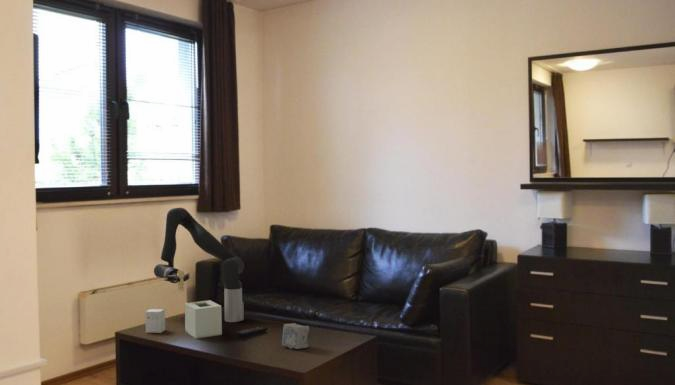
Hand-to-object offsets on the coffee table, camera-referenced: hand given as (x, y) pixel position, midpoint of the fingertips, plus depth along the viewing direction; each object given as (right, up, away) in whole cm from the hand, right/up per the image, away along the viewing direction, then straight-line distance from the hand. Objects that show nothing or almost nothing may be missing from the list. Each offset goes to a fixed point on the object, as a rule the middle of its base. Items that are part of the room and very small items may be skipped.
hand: (182, 279), depth 302 cm
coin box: (+12, -25, -7) cm, 29 cm away
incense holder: (+59, -26, -32) cm, 72 cm away
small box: (-13, -25, -3) cm, 28 cm away
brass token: (-1, -6, +3) cm, 7 cm away
